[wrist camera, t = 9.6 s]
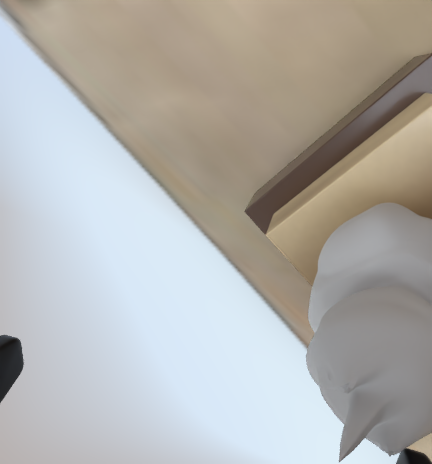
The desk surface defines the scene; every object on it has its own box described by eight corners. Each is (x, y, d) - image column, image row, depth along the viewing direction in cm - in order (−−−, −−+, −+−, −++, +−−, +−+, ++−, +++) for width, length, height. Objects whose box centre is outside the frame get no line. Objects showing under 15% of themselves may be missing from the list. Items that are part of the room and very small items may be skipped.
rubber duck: (293, 238, 15) (174, 372, 9) (477, 134, 11) (514, 234, 5) (374, 355, 15) (317, 575, 9) (586, 292, 11) (770, 608, 5)
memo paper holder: (545, 216, 17) (634, 274, 12) (368, 318, 21) (381, 394, 16) (415, 56, 16) (454, 48, 11) (254, 193, 20) (231, 231, 15)
